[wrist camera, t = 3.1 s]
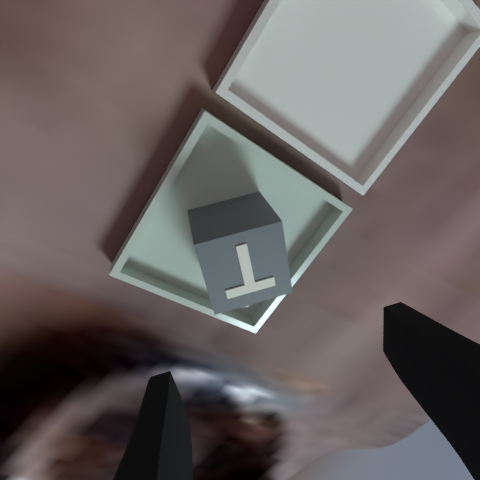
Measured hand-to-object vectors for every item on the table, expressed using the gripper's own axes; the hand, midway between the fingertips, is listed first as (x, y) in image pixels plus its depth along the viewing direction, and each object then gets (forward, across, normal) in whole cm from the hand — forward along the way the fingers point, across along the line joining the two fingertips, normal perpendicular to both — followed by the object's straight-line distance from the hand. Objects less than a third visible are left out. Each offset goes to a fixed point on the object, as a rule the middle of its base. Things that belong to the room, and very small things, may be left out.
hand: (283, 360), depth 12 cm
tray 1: (+10, -7, -7) cm, 14 cm away
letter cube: (+10, 0, 0) cm, 10 cm away
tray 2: (+10, 0, 0) cm, 10 cm away
